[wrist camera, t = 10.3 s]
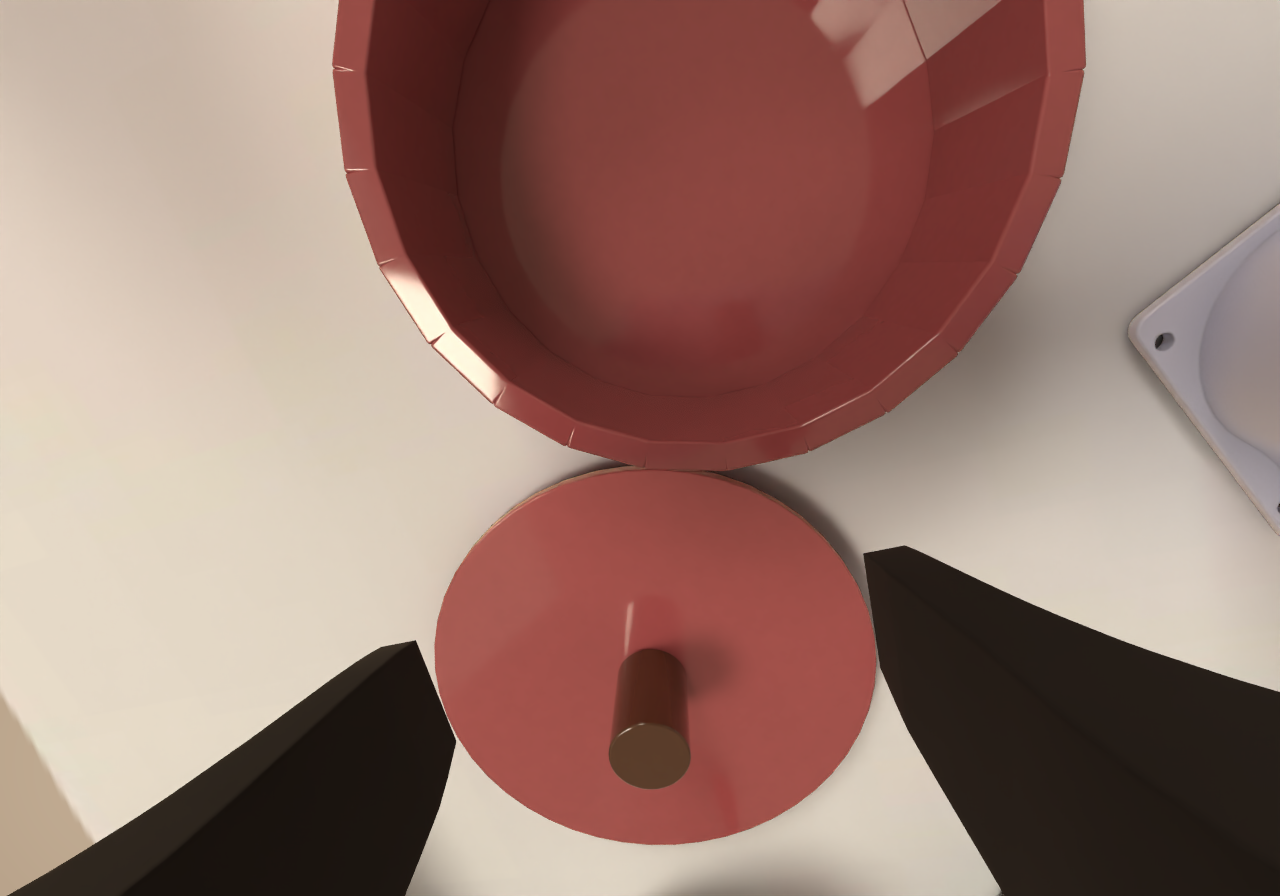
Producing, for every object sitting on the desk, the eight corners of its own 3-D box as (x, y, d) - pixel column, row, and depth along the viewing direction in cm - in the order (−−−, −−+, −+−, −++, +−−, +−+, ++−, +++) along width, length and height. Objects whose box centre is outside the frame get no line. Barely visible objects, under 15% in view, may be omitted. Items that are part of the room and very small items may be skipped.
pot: (1057, 169, 16) (1237, 125, 11) (677, 502, 20) (681, 585, 15) (703, -313, 14) (726, -659, 9) (333, 164, 17) (191, 120, 12)
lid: (954, 668, 21) (1029, 773, 17) (648, 878, 25) (644, 1010, 20) (659, 361, 18) (656, 391, 14) (361, 647, 22) (285, 742, 18)
